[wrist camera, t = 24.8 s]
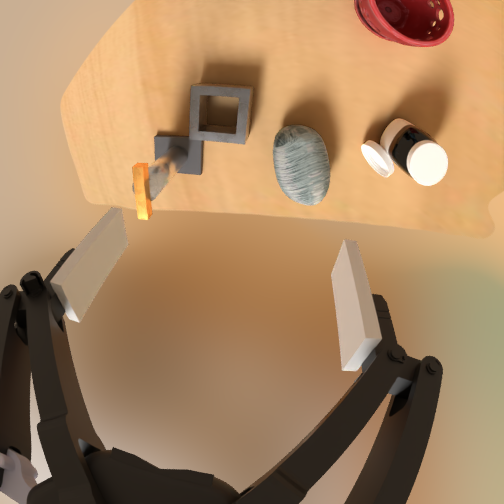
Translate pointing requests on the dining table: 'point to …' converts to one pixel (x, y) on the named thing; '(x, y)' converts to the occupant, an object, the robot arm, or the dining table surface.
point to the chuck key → (155, 178)
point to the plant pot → (407, 20)
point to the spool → (301, 164)
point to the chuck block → (218, 132)
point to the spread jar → (407, 153)
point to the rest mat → (191, 147)
